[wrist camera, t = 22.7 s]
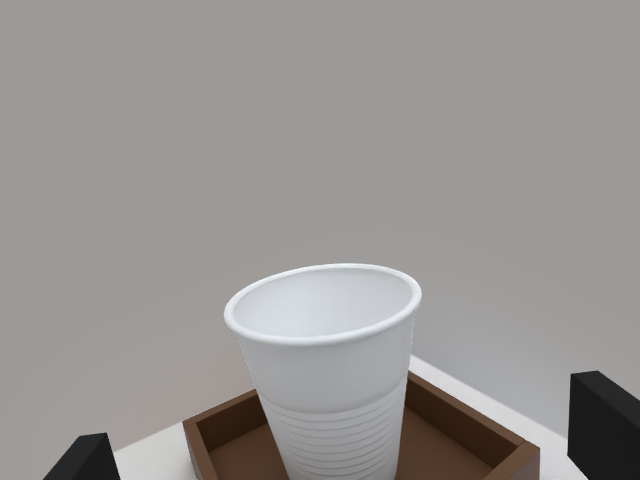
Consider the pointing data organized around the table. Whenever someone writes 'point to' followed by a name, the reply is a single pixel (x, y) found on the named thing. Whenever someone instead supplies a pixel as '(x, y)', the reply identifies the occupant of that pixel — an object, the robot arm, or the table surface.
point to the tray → (414, 452)
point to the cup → (330, 365)
